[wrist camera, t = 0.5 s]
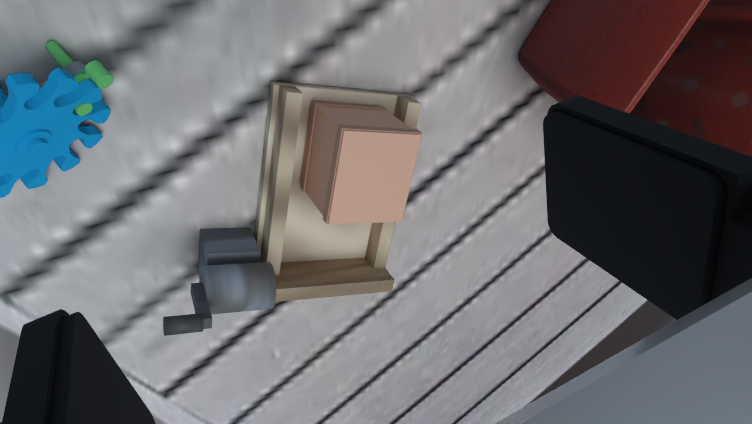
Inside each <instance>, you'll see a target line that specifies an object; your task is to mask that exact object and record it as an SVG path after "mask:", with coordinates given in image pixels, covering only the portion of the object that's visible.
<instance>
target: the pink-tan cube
mask: <svg viewBox="0 0 752 424" xmlns="http://www.w3.org/2000/svg"><path fill="white" fill-rule="evenodd" d="M421 134H422V133H421V132H420V131H418V130H417V129H412V128H411V127H409V126H408V125H407V124H405V123H404V122H402V121H401V120H399V119H398V118H396V117H395V116H394V115H392V114H391V113H389V110H388V109H386V108H385V107H376V106H363V105H350V104H338V103H325V102H312V103H311V110H310V118H309V125H308V132H307V139H306V147H305V154H304V161H303V168H302V176H301V183H300V185H301V187H300V188H301V190H302V191H303V192H306V194H307V195H308V196H309V198H310V199H311V200H312V202H313V203H314V205H315V206H316V207H317V209H318V210H319V211H320V213H321V214H322V216H323V220H324V222H325V223H326V224H349V223H385V222H402V219H403V215H404V210H405V206H406V201H407V197H408V192H409V188H410V184H411V179H412V175H413V170H414V166H415V162H416V157H417V153H418V148H419V144H420V140H421Z"/></svg>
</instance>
